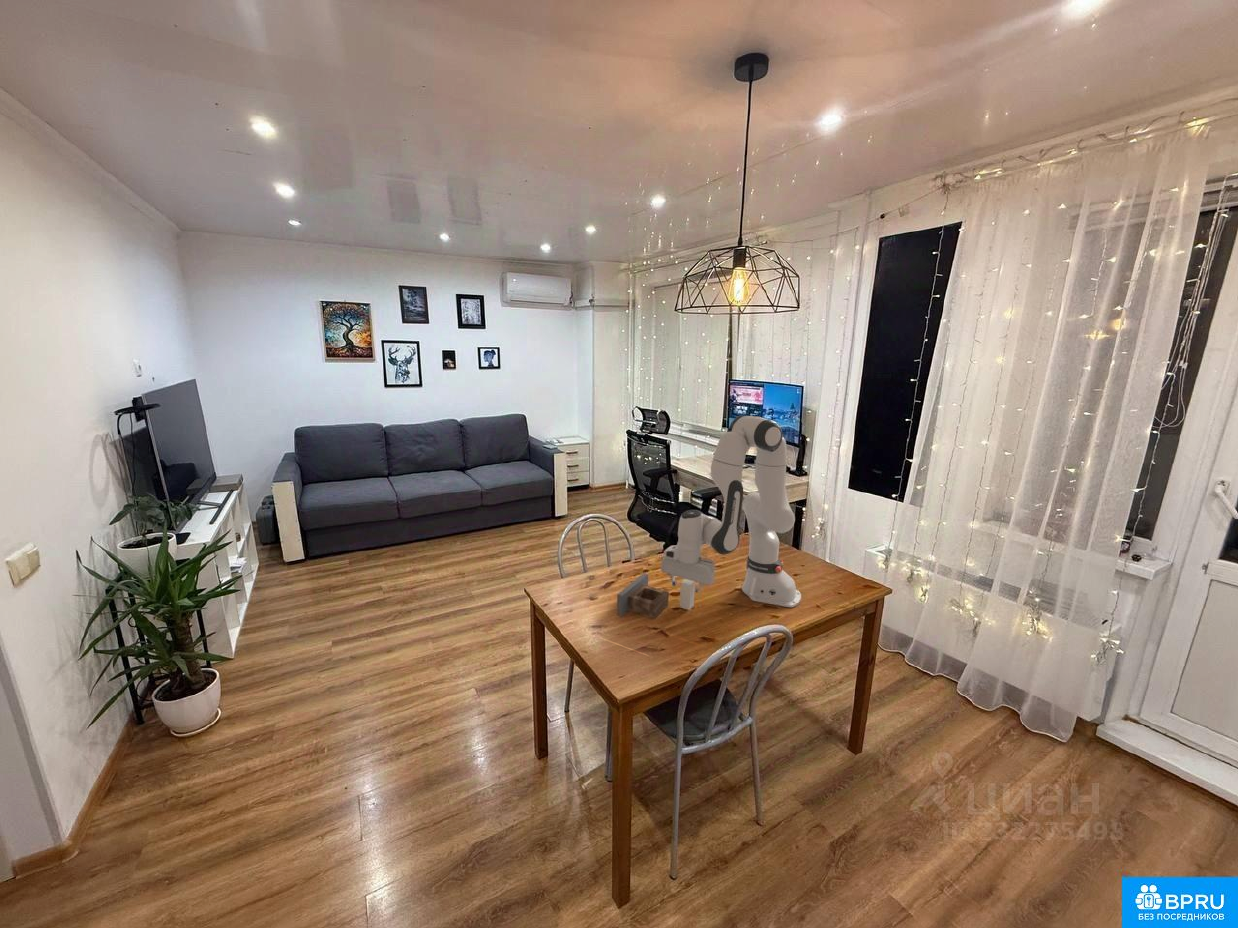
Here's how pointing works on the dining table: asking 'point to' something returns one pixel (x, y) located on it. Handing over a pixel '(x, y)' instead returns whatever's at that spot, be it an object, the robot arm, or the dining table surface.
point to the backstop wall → (629, 593)
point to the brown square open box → (648, 601)
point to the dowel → (687, 594)
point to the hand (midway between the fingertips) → (685, 588)
